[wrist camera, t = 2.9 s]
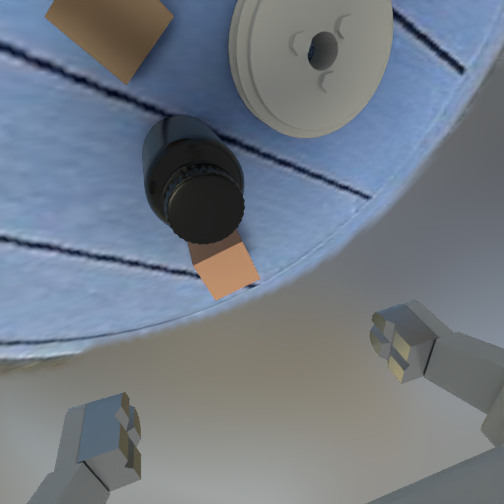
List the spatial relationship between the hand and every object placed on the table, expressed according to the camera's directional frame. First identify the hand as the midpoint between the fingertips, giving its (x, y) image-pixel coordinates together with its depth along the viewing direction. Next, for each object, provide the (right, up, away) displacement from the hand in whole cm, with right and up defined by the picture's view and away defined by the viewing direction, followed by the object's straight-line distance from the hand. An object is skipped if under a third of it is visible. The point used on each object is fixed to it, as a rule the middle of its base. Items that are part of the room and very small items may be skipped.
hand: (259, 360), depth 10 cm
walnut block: (-10, +20, +12) cm, 25 cm away
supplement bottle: (-6, +12, +18) cm, 23 cm away
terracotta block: (-4, +4, +24) cm, 25 cm away
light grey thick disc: (+4, +21, +17) cm, 27 cm away
